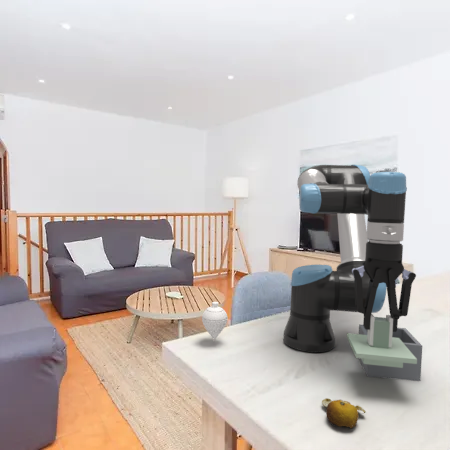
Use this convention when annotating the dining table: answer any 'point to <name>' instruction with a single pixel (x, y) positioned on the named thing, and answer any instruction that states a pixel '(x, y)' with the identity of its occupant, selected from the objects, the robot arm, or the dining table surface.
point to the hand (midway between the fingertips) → (379, 343)
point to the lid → (381, 347)
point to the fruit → (341, 412)
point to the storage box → (408, 369)
